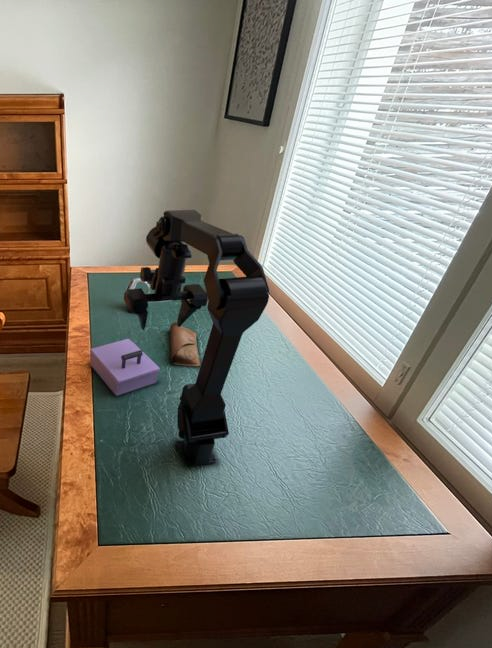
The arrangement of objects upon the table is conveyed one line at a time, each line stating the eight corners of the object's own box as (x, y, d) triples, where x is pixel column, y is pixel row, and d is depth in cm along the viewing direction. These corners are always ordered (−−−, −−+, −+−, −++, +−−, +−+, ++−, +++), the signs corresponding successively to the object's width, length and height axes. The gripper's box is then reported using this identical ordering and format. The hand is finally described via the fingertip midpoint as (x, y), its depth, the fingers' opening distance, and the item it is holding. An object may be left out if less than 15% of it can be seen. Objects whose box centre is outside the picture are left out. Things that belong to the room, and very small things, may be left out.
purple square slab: (159, 370, 97) (162, 356, 94) (118, 384, 92) (119, 368, 89) (128, 340, 107) (129, 326, 105) (90, 351, 103) (90, 336, 100)
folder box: (156, 382, 100) (158, 369, 97) (116, 396, 95) (117, 382, 92) (127, 353, 110) (128, 340, 107) (89, 364, 105) (90, 351, 103)
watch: (124, 304, 134) (126, 275, 127) (147, 305, 133) (150, 276, 127) (124, 312, 129) (126, 282, 123) (148, 313, 129) (151, 283, 122)
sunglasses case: (202, 366, 105) (193, 347, 102) (178, 374, 108) (168, 356, 105) (196, 331, 119) (188, 314, 116) (175, 339, 122) (167, 323, 119)
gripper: (196, 250, 91) (183, 306, 101) (120, 255, 87) (115, 312, 97) (217, 273, 82) (201, 331, 93) (134, 278, 79) (127, 338, 89)
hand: (160, 327), depth 93 cm, fingers open, 9 cm apart
